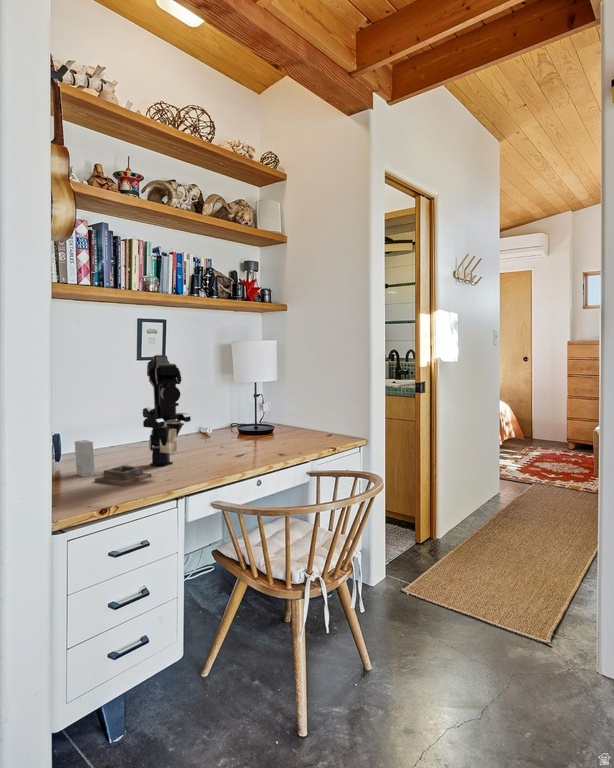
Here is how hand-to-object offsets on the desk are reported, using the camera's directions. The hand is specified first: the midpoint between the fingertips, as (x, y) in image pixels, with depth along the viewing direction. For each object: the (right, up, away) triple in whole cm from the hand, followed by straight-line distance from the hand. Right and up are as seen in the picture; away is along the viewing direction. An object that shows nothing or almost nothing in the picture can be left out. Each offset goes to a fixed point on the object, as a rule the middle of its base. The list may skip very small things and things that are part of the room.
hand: (168, 444), depth 173 cm
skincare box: (-31, -11, +3) cm, 33 cm away
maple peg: (0, -3, 0) cm, 3 cm away
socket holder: (-15, -12, -3) cm, 19 cm away
